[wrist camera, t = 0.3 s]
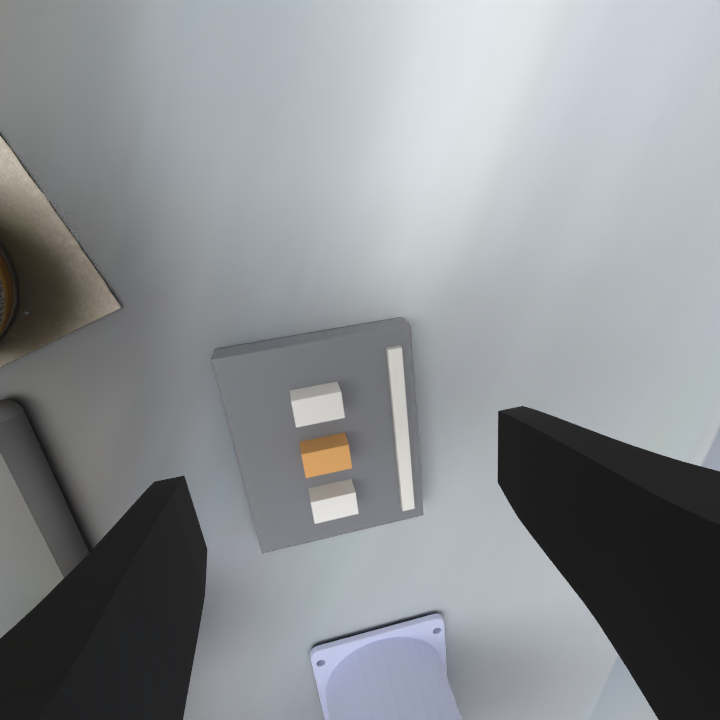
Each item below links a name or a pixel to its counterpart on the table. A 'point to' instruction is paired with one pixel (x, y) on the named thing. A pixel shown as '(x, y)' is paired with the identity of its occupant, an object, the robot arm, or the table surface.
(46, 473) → the dark gray rod
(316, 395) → the panel
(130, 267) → the table surface
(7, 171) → the condiment
